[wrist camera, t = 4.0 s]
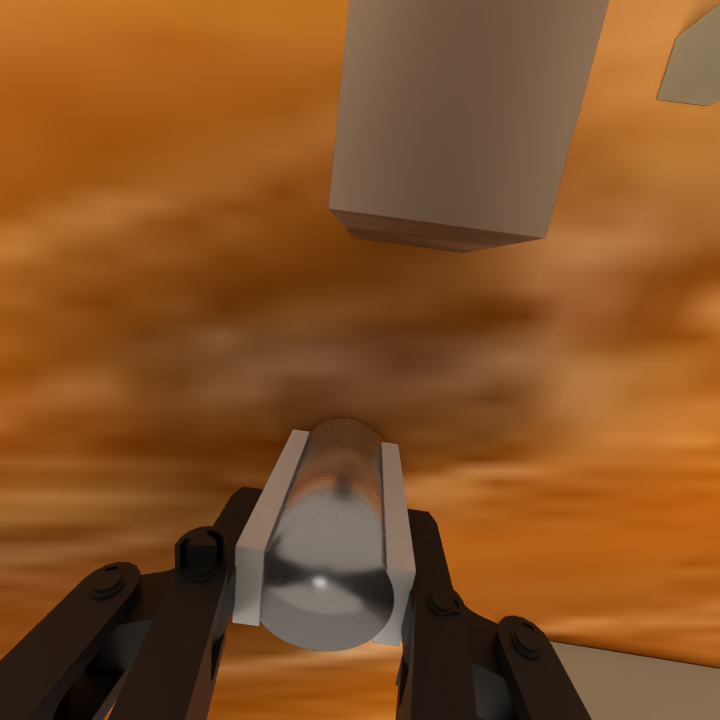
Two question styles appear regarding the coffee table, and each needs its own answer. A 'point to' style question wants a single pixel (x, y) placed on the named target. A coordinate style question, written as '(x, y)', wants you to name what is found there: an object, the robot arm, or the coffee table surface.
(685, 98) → the bay
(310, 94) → the coffee table surface
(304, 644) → the metal cylinder
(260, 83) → the coffee table surface
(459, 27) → the walnut block
